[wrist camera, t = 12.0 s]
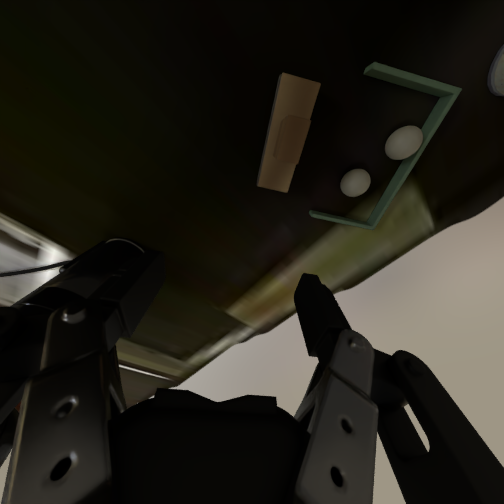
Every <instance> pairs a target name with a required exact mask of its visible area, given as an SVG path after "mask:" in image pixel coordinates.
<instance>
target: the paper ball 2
mask: <svg viewBox="0 0 504 504" xmlns="http://www.w3.org/2000/svg"><path fill="white" fill-rule="evenodd" d="M422 141H423V133H422V131H421V130H420V129H419V128H418V127H416V126H405V127H402V128H400V129H398V130H396V131H395V132H394V133H392V134H391V136H390V137H389V138H388V140H387V142H386V145H385V152H386V154H387V156H388V157H390V158H391V159H395V160H400V159H404V158H407V157H409V156H411V155H412V154H414V153H415V152H416V151H417V150H418V149H419V147H420V146H421V144H422Z"/></svg>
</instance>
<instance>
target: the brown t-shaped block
mask: <svg viewBox="0 0 504 504" xmlns="http://www.w3.org/2000/svg"><path fill="white" fill-rule="evenodd" d="M320 85H321V83H318V82H314V81H311V80H307V79H304V78H300V77H297V76H293V75H290V74H286V73H282V74H280V76H279V79H278V83H277V88H276V93H275V97H274V102H273V107H272V112H271V116H270V121H269V126H268V130H267V135H266V140H265V145H264V149H263V154H262V159H261V163H260V168H259V173H258V178H257V182H256V185H258V186H259V187H264V188H268V189H273V190H277V191H282V192H286V193H287V192H288V189H289V186H290V182H291V179H292V176H293V173H294V169H295V166H296V164H298V162H299V159H300V155H301V152H302V149H303V146H304V143H305V139H306V136H307V133H308V130H309V127H310V123H311V120H310V117H311V114H312V111H313V108H314V104H315V101H316V98H317V95H318V91H319V88H320Z"/></svg>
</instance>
